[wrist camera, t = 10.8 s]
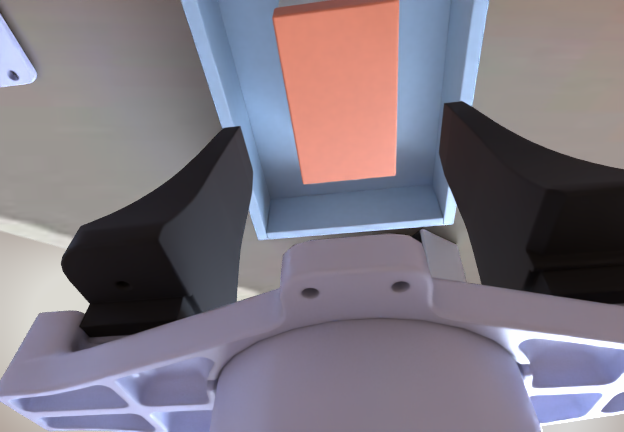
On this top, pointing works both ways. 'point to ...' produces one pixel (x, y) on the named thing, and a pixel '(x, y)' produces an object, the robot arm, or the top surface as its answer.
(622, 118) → the top surface
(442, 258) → the padlock
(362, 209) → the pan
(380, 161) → the sushi
